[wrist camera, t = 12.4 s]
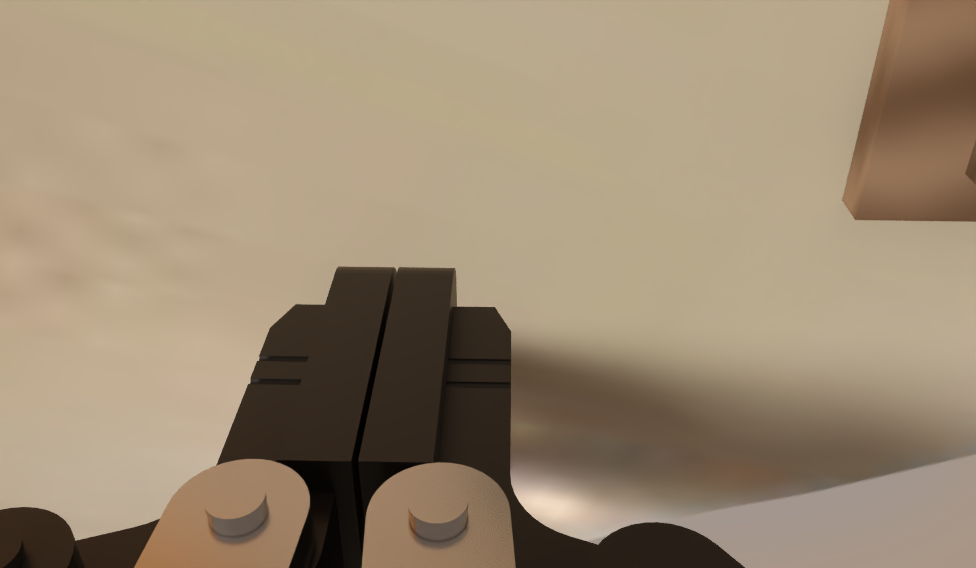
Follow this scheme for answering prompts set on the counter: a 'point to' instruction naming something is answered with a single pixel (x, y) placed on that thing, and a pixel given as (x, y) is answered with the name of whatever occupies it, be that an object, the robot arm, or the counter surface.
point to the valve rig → (919, 118)
